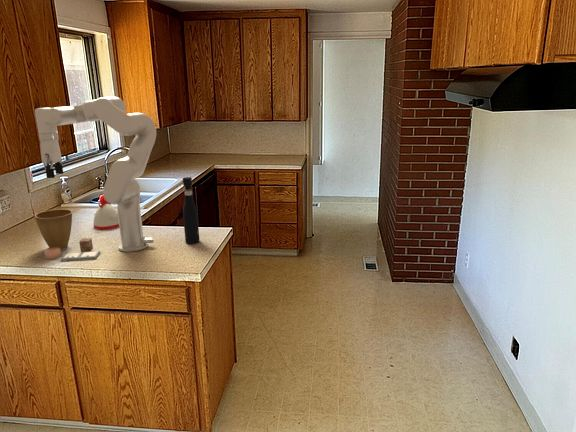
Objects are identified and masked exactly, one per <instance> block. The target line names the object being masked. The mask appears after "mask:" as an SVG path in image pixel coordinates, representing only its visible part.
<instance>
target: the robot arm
mask: <svg viewBox="0 0 576 432" xmlns="http://www.w3.org/2000/svg"><path fill="white" fill-rule="evenodd" d="M34 115H35V120H36V126H37V131H38V138H39V142H40V143H39V144H40V146H39V147H40V155H41V156H40V157H41V163H42V164H43V166H44V170H45V176H46V178H47V179H54V178H55V177H56V175H63V174H64V167H63V159H62V152H61V151H62V150H61V147H60V144H59V143H60V142H59V140H60V137H59V132H58V126H65V125H74V124H80V123H86V122H91V123H92V122H98V121H101V122H103V123H104V124H105V125H107V126H108V127H110V128H111V129H112V130H114V131H116V133H118V134H120V135H122V136H126V137H130V136H134V135H135V137H134V138H133V139H132V141H131V144H130V145H129V149H128V152H127V154H126V156H124V157H123V158H119V159H117V160H116V161H114V162H113V163H112V165H110V166H111V167H110V168H109V172H108V174H107V177H106V181H105V183H104V186H103V190H102V191H103V198H104V200H106V201H107V202H108V203H110V204H111V205H112V206H114V205H117V207H116V210H117V211H118V220H119V227H118V228H119V233H120V241H121V243H120V244H119V245H118V250H119V251H120V252H126V253H127V252H128V253H131V252H138V251H141V250H145V249H146V248H148V245H149V244H154V243H155V239H154V238H152V237H146V235H145V234H144V231H143V230H144V229H143V221H142V220H143V219H142V213H141V203H140V202H141V198H140V197H141V188H140V184H139V182H138V181H137V178H140V177H141V176H143V174H144V172H145V169H146V167H147V164H148V162H149V158H150V156H151V152H152V150H153V147H154V145H155V142H156V138H157V127H156V124H155V122H154V120H153V119H152V118H151V117H150V116H149V115H148V114H146V113H143V112H133V113H126V104H125V102H124V101H123V100H122V99H121V98H120V97H117V96H105V97H103V96H102V97H98V98H96V99H91V100H85V101H84V102H83V103H82V104H77V105H69V106H68V105H67V106H56V107H38V108H35V110H34ZM53 165H54V167H53ZM55 174H56V175H55Z"/></svg>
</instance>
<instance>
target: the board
mask: <svg viewBox="0 0 576 432" xmlns="http://www.w3.org/2000/svg"><path fill="white" fill-rule="evenodd" d="M99 255H101V251H100V250H95V251H94V250H91V252H81V251H79V252H67V253H65V254H64V255H63V256H61V257H60V262H69V261H85V260H86V261H87V260H97V258H98V257H99Z"/></svg>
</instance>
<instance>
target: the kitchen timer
mask: <svg viewBox="0 0 576 432" xmlns="http://www.w3.org/2000/svg"><path fill="white" fill-rule="evenodd" d="M99 202H100V203H98V208H97V210H96V211H95V213H94V217H93V222H92V223H93V228H94V229H95V230H101V231H102V230H105V231H106V230H112V229H116V228H119V220H118V211H117V208H116V207H115V206H114V205H113V204H110V203H108V202H107V201H106V200H105V198H104V197H103V198H102V200H99Z"/></svg>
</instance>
